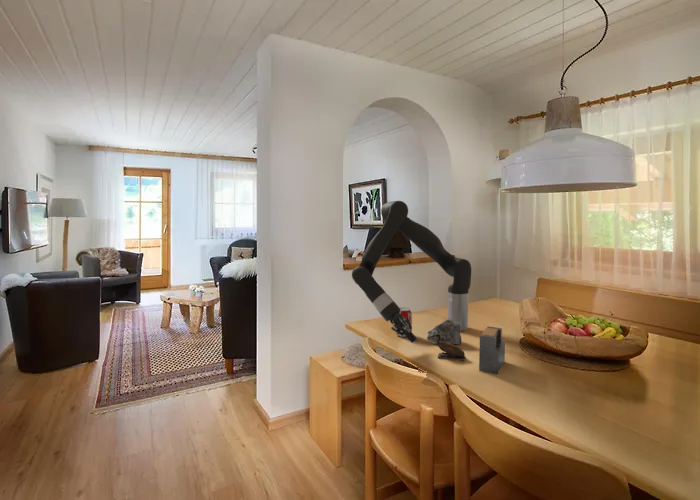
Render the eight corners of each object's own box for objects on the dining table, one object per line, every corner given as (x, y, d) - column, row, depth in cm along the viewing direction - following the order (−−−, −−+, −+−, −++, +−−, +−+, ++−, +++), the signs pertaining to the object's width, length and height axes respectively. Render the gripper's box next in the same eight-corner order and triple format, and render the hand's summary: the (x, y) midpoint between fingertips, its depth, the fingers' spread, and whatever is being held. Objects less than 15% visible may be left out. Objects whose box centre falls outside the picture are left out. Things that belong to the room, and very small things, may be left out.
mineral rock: (425, 343, 164) (426, 320, 163) (434, 336, 173) (434, 314, 172) (456, 349, 157) (457, 324, 157) (463, 341, 167) (464, 318, 166)
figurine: (426, 357, 149) (426, 334, 148) (428, 353, 153) (428, 331, 152) (464, 362, 143) (464, 338, 143) (465, 358, 148) (466, 335, 147)
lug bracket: (486, 358, 146) (487, 326, 145) (504, 361, 143) (505, 328, 142) (479, 370, 135) (479, 335, 134) (498, 374, 132) (499, 338, 131)
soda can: (406, 338, 171) (407, 311, 169) (392, 335, 175) (392, 309, 174) (414, 334, 176) (414, 308, 175) (400, 332, 180) (400, 306, 179)
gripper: (385, 304, 151) (415, 340, 146) (399, 297, 163) (427, 331, 158) (373, 316, 154) (401, 351, 149) (387, 309, 166) (414, 342, 161)
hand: (414, 341), depth 153 cm, fingers closed
